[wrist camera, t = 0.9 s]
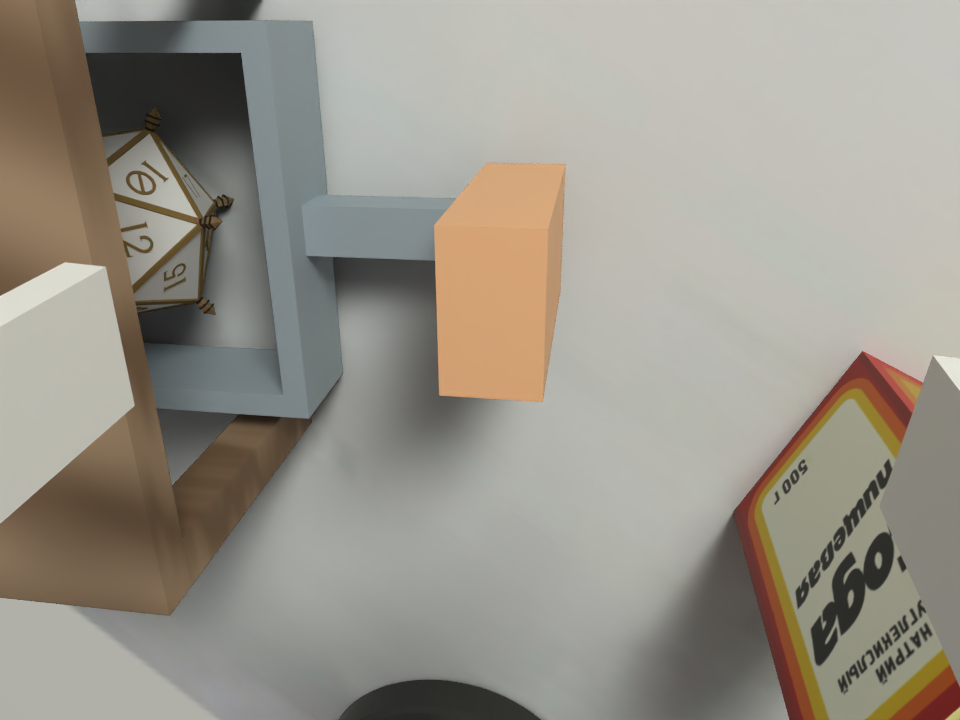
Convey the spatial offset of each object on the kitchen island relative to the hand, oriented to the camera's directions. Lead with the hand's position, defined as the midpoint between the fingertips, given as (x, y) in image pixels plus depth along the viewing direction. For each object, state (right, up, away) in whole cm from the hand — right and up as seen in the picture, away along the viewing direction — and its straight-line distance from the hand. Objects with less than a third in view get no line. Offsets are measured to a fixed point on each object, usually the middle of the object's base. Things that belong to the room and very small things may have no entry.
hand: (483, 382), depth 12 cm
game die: (-14, +7, +22) cm, 27 cm away
